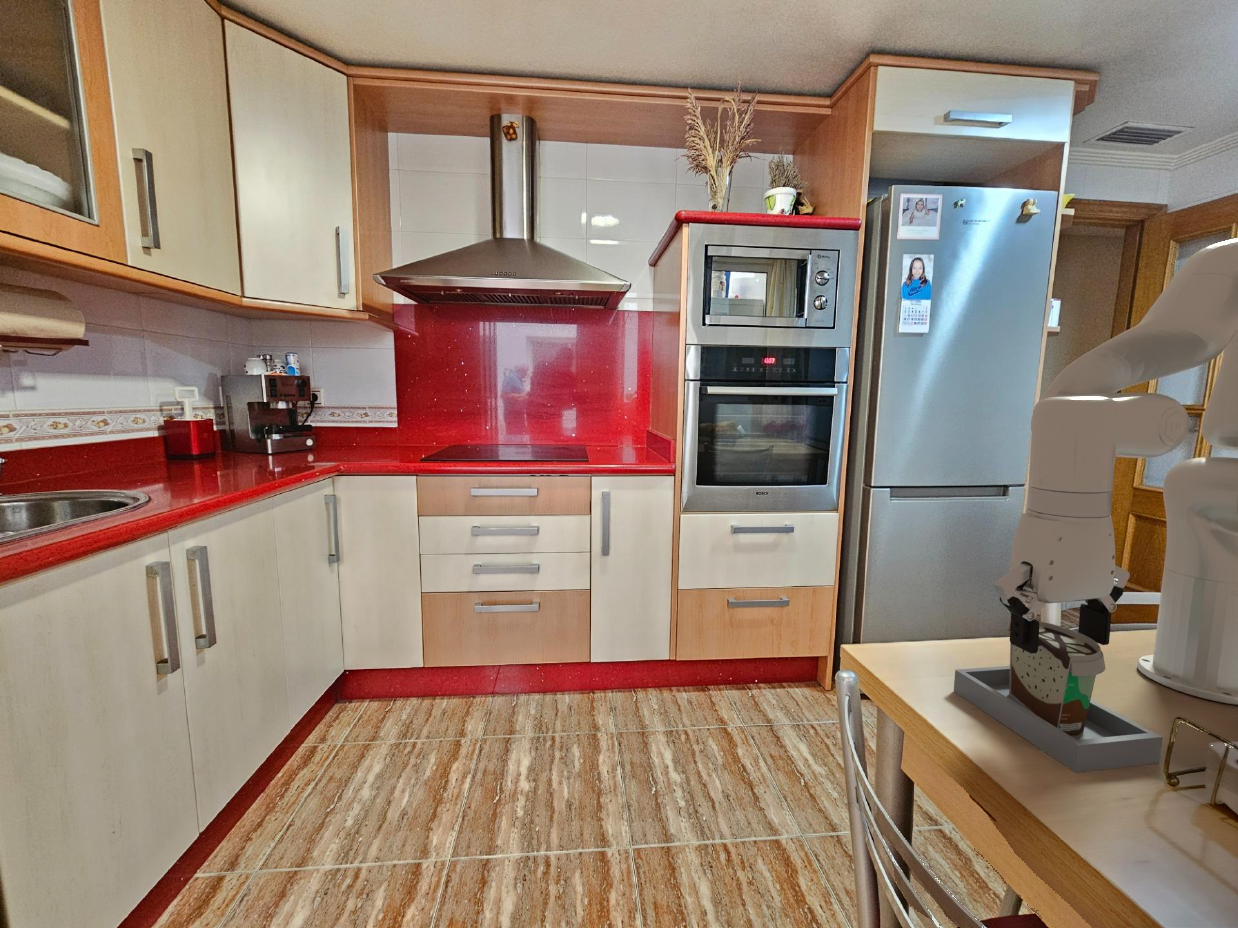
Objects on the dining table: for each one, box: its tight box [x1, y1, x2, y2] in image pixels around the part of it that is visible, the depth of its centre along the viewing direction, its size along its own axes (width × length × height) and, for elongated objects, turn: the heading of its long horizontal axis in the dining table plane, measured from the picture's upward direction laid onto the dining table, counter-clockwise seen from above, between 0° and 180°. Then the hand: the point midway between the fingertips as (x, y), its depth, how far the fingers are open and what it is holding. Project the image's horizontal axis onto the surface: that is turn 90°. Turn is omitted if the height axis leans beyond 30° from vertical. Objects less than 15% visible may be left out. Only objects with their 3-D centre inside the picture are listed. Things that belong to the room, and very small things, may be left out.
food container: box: [1007, 620, 1106, 736], centre depth 65 cm, size 12×6×10 cm, turn 173°
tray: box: [953, 665, 1163, 773], centre depth 66 cm, size 11×17×3 cm, turn 9°
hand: (1058, 644), depth 65 cm, fingers open, 9 cm apart
